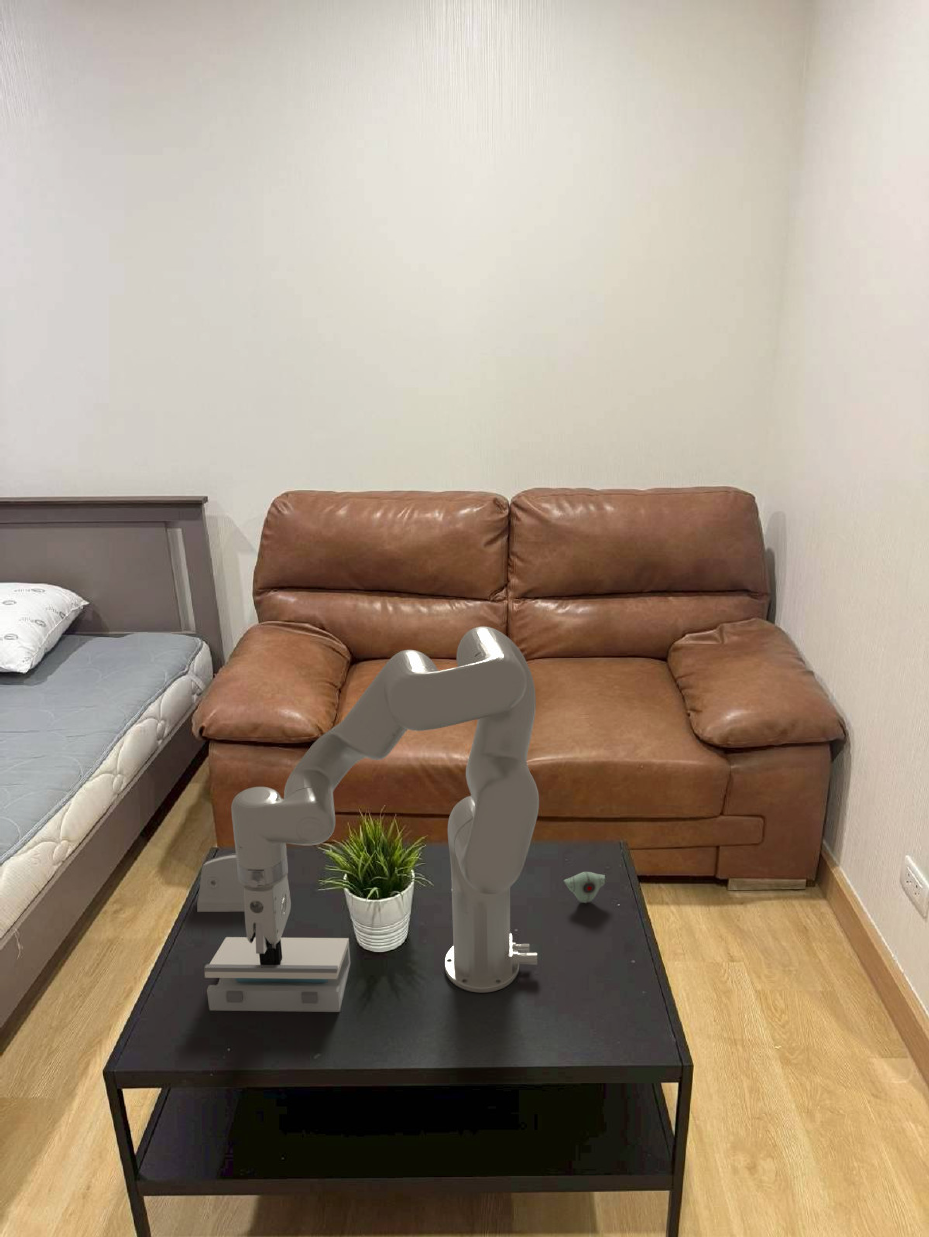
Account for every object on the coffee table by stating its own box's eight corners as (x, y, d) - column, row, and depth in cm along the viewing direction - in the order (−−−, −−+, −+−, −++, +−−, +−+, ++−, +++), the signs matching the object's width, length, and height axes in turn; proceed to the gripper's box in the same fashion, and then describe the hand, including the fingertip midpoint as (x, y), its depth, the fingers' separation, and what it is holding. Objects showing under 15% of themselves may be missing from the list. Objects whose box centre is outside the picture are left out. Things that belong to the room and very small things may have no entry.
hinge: (195, 911, 167) (194, 858, 167) (203, 903, 171) (202, 851, 171) (284, 911, 166) (283, 857, 166) (290, 903, 171) (289, 850, 171)
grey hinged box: (350, 963, 153) (349, 944, 152) (338, 1015, 142) (337, 995, 141) (229, 962, 154) (226, 943, 153) (208, 1014, 143) (205, 994, 141)
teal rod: (328, 978, 148) (328, 971, 148) (327, 984, 147) (326, 977, 146) (236, 977, 149) (236, 970, 148) (234, 983, 148) (233, 976, 147)
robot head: (602, 893, 169) (604, 863, 167) (609, 907, 166) (611, 876, 163) (561, 898, 168) (562, 868, 166) (567, 912, 164) (568, 882, 162)
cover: (348, 943, 152) (348, 934, 151) (337, 979, 141) (336, 968, 140) (226, 942, 152) (225, 933, 152) (205, 977, 141) (204, 967, 141)
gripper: (275, 896, 130) (284, 997, 136) (297, 838, 144) (304, 932, 150) (224, 895, 130) (235, 996, 137) (251, 837, 144) (259, 931, 151)
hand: (271, 962), depth 143 cm, fingers closed
